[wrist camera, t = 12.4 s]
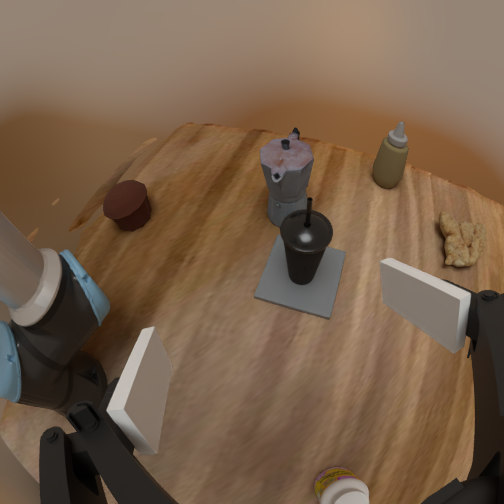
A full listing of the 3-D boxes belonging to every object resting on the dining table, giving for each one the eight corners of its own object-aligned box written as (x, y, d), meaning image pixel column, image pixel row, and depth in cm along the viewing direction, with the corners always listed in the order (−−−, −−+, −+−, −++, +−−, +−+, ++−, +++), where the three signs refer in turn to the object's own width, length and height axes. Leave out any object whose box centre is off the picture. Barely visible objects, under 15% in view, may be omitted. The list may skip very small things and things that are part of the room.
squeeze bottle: (384, 196, 60) (405, 136, 45) (363, 175, 64) (377, 116, 49) (404, 186, 62) (425, 129, 47) (383, 166, 66) (399, 111, 51)
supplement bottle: (349, 460, 33) (373, 477, 22) (355, 491, 29) (380, 515, 18) (309, 472, 33) (320, 494, 22) (316, 503, 29) (328, 532, 18)
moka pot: (257, 236, 57) (246, 160, 40) (274, 184, 65) (270, 112, 48) (302, 244, 55) (309, 168, 38) (314, 190, 63) (320, 117, 46)
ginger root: (425, 258, 49) (443, 230, 43) (429, 220, 59) (443, 195, 53) (477, 290, 44) (498, 266, 38) (475, 248, 54) (491, 225, 48)
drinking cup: (273, 265, 52) (269, 189, 35) (309, 249, 53) (319, 172, 36) (292, 299, 48) (298, 232, 31) (329, 281, 49) (351, 210, 32)
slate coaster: (254, 297, 50) (253, 295, 49) (278, 237, 57) (277, 234, 56) (328, 319, 47) (329, 317, 46) (344, 254, 53) (345, 251, 52)
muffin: (144, 193, 68) (130, 165, 60) (164, 213, 63) (150, 184, 55) (108, 220, 65) (90, 194, 56) (125, 244, 60) (105, 218, 51)
